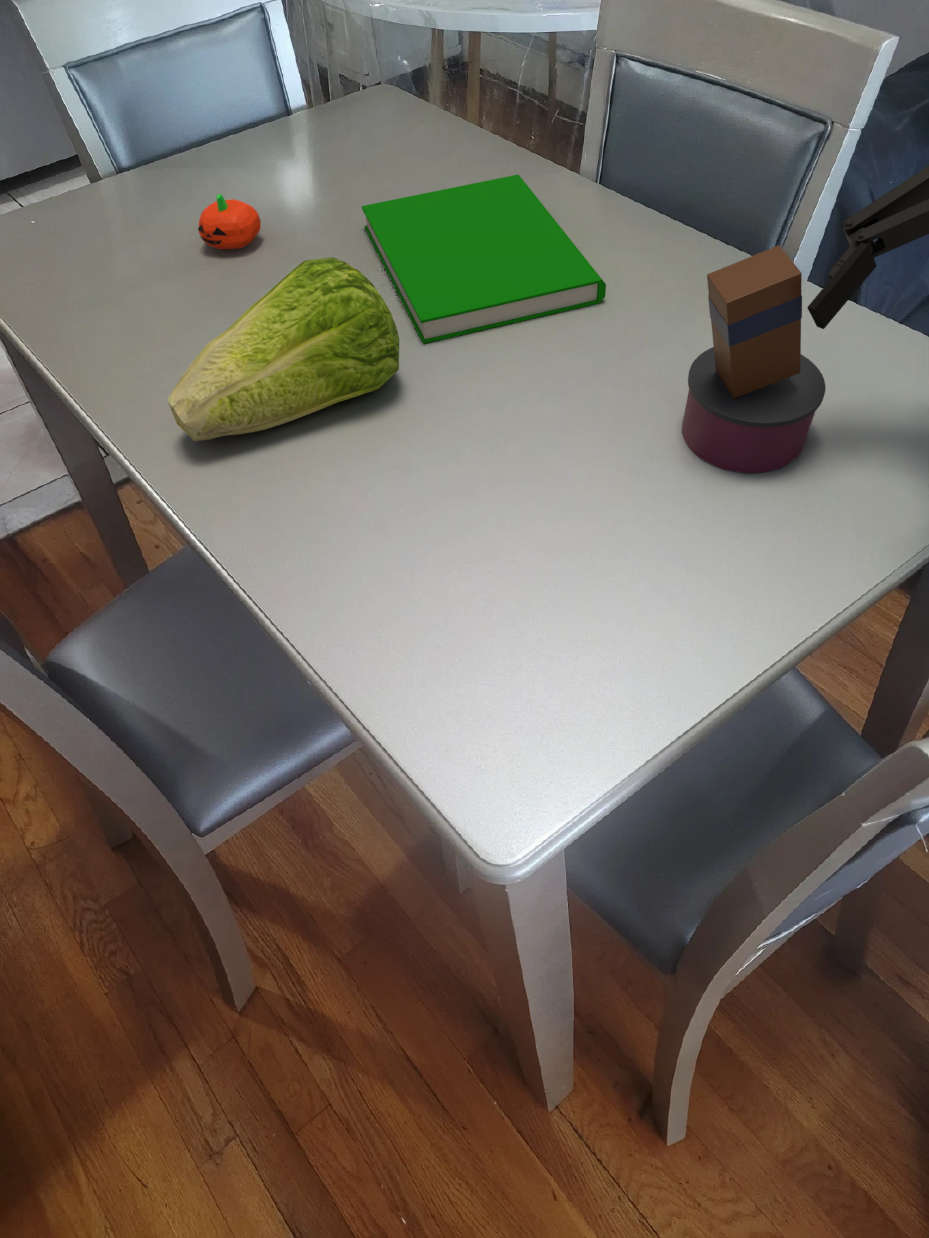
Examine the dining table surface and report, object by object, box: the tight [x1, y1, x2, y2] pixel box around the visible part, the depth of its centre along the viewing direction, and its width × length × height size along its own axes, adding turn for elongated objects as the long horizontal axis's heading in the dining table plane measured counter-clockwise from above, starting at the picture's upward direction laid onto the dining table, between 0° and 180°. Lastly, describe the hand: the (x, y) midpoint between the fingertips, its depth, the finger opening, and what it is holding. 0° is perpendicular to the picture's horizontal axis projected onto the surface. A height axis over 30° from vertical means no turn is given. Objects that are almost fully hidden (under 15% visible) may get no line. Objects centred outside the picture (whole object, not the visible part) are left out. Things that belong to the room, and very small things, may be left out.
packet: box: [706, 244, 803, 399], centre depth 77 cm, size 6×4×11 cm
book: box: [361, 173, 607, 345], centre depth 108 cm, size 22×28×3 cm
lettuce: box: [167, 256, 400, 442], centre depth 89 cm, size 14×24×14 cm
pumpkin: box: [197, 193, 262, 250], centre depth 112 cm, size 7×8×6 cm
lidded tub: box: [681, 346, 826, 474], centre depth 85 cm, size 13×13×6 cm
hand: (882, 345), depth 68 cm, fingers open, 13 cm apart
